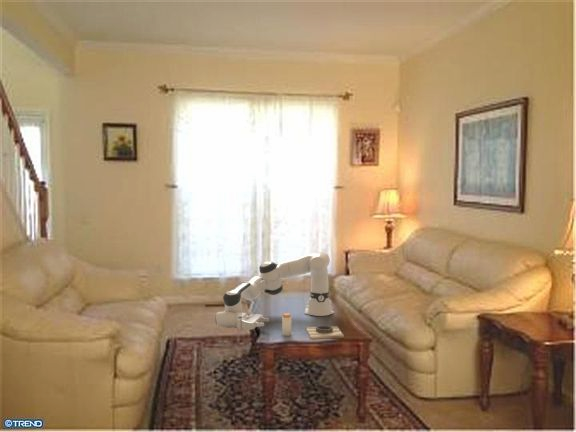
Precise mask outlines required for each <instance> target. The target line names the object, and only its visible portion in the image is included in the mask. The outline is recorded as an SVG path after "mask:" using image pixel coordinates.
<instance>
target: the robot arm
mask: <svg viewBox="0 0 576 432" xmlns="http://www.w3.org/2000/svg"><path fill="white" fill-rule="evenodd" d="M330 262H331V261H330V256H329V255H328V254H327V252H324V251H319V252H315V253H310V254H306V255H304V256H300V257H296V258H292V259H288V260H285V261H282V262H279V263H277V262H274V261H265V262H263V263H261V264H260V266H259V273H260V275H261V276H259V275H255V276H252V277H251V278H250V279H248V280H247V281H242V282H240V283H239V284H237V285H236V286H235V287H233V288H232V289H230V290H228V291H226V292H225V293H224V294H223V296H222V298H223V299H222V300H223V303H224V310H222V311H217V312H216V313H215V317H214V319H215V324H216V326H218V327H219V328H220V327H221V328H225V329H230V328H235V329H237V331H243V330H244V331H252V330H254V329H256V328H257V327H260V328H261V327H265V323H268V322H270V318H267V317H265V316H264V315H263V314H261V313H255V314H254V313H252V314H249V315H248V313H247V312H243V305H242V298H243V299H244V300H247V301H254V300H256V299H257V298H258V297H259V296H260V294H261V292H263V293H265V294H268V295H271V296H275V295H276V296H277V295H278V294H280V293H282V291H283V289H284V287H283V286H284V285H283V284H282V280H281V279H289V278H294V277H298V276H302V275H307V274H308V273H310V291H309V293H310V294H309V297H310V298H309V299H308V301H306V304H305V305H306V308H305V310H304V314H305V315H311V316H317V317H321V316H322V317H324V316H325V317H326V316H329V315H332V314H335V311H334V310H333V309H332V300H331V299H330V292H329V275H328V272H329V271H328V267H329V265H330Z"/></svg>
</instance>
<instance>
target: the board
mask: <svg viewBox="0 0 576 432" xmlns="http://www.w3.org/2000/svg"><path fill="white" fill-rule="evenodd" d="M305 330H306V331H307V332H306V333H307V334H308V336H309V338H310V340H311V339H313V340H314V339H341V338H343V339H344V337H345V335H344V333H343V332H342V331H341V329H340V328H339V327H338V326H337V325H335V326H332V325H331V326H330V325H318V326H306V327H305Z"/></svg>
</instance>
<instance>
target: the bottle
mask: <svg viewBox="0 0 576 432" xmlns="http://www.w3.org/2000/svg"><path fill="white" fill-rule="evenodd" d="M281 322H282V323H281V328H282V329H281V331H282V332H281V335H282V336H285V337H288V336H292V314H291V313H282V317H281Z"/></svg>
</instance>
